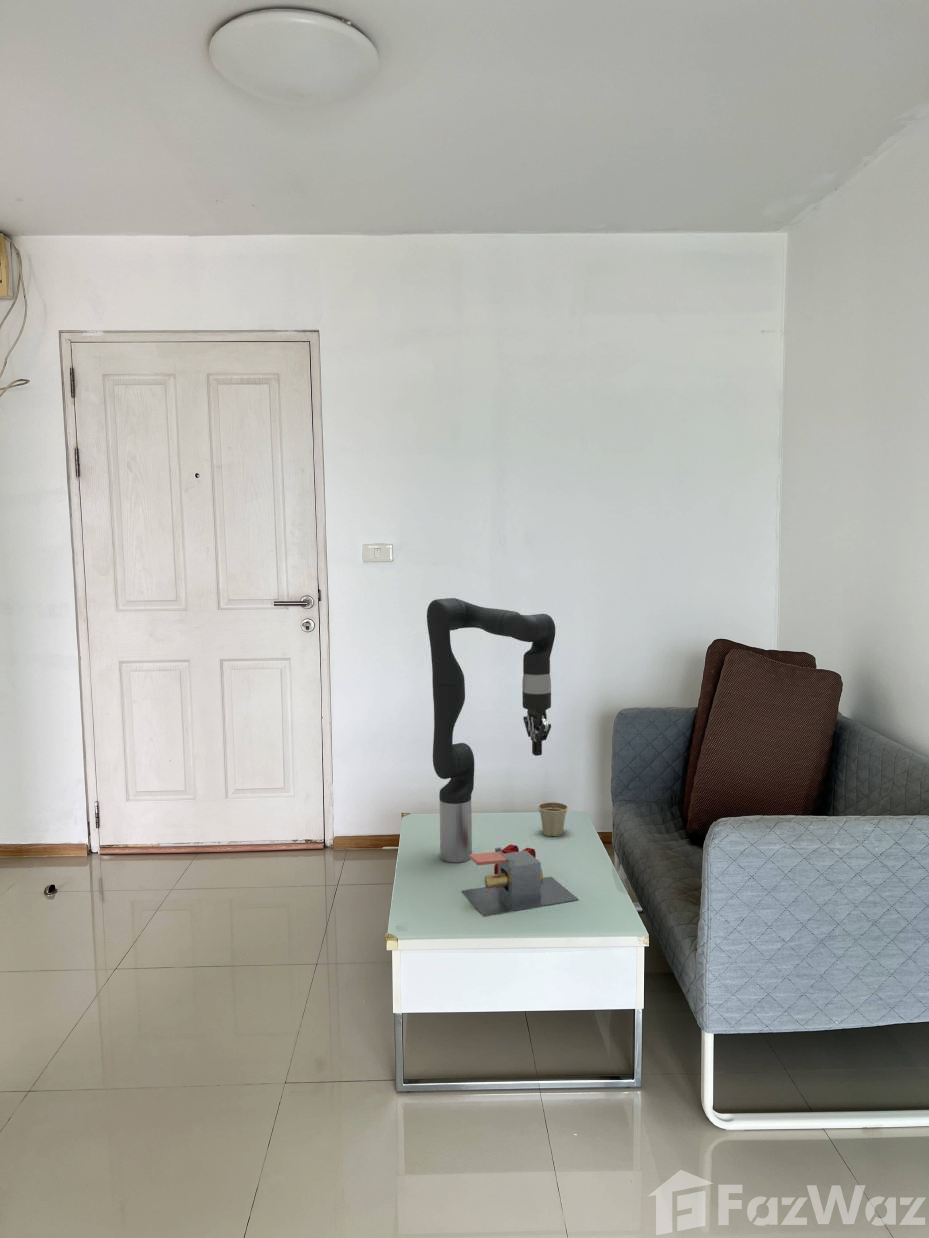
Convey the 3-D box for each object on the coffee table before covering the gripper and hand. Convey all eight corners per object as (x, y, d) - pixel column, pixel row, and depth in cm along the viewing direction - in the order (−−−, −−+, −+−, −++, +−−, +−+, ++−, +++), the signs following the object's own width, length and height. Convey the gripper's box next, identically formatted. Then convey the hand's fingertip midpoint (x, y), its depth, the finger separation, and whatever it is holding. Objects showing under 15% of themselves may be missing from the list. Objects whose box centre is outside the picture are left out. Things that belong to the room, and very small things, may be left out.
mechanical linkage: (513, 858, 251) (513, 842, 250) (535, 863, 247) (535, 846, 247) (486, 877, 237) (486, 859, 237) (509, 882, 234) (509, 864, 233)
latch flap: (468, 856, 222) (468, 852, 222) (500, 854, 225) (501, 850, 225) (478, 866, 216) (478, 862, 215) (511, 863, 219) (511, 859, 219)
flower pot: (573, 831, 273) (573, 804, 272) (560, 840, 265) (560, 812, 264) (546, 826, 278) (546, 800, 277) (532, 835, 270) (532, 808, 269)
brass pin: (483, 888, 224) (482, 867, 223) (534, 880, 228) (533, 860, 228) (491, 897, 218) (490, 875, 218) (543, 888, 223) (543, 867, 223)
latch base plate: (461, 891, 227) (460, 848, 226) (551, 877, 236) (551, 835, 235) (483, 916, 212) (483, 869, 211) (578, 900, 221) (578, 855, 220)
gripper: (560, 693, 223) (561, 759, 224) (539, 685, 235) (539, 748, 237) (534, 695, 220) (534, 762, 222) (513, 687, 233) (514, 750, 234)
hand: (537, 754), depth 229 cm, fingers closed
